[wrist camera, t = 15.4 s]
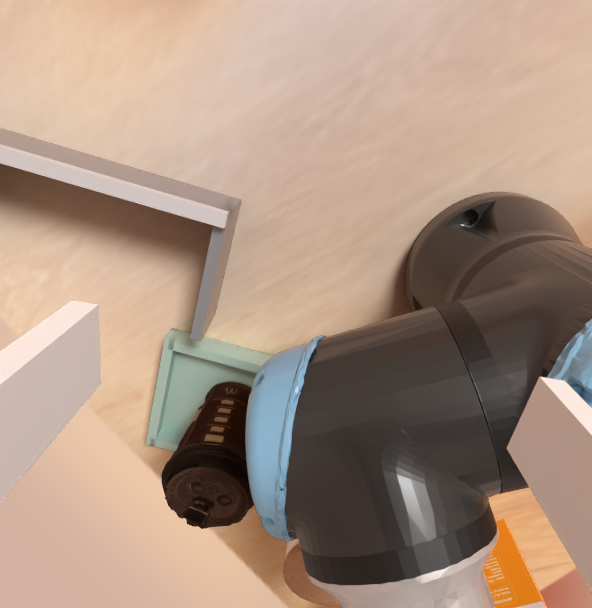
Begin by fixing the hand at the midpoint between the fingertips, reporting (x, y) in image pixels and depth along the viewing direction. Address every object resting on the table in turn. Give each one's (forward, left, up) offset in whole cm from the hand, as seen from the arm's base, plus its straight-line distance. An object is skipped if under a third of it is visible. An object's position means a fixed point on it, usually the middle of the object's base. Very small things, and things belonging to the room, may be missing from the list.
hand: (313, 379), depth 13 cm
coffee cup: (+2, +23, -28) cm, 36 cm away
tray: (+4, +23, -28) cm, 37 cm away
